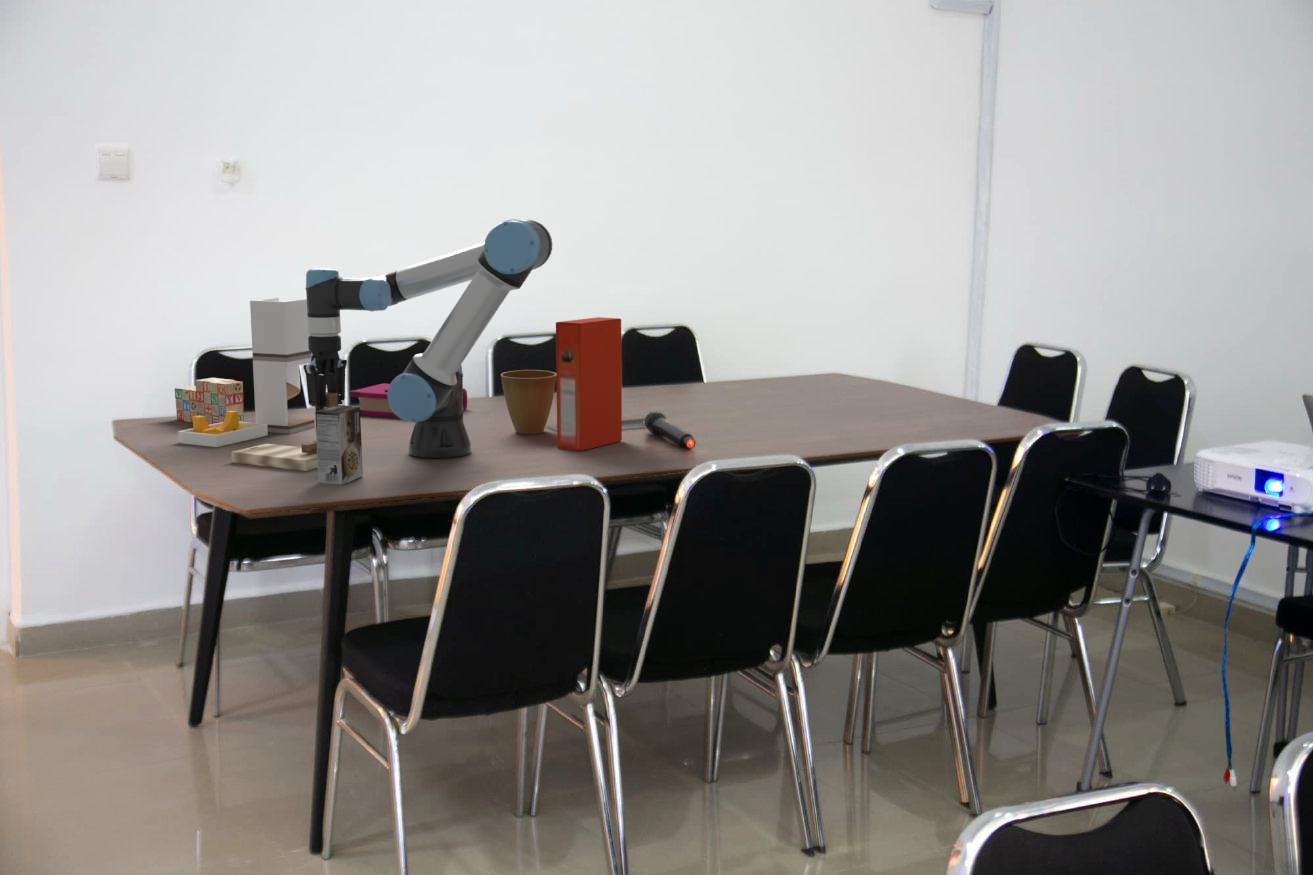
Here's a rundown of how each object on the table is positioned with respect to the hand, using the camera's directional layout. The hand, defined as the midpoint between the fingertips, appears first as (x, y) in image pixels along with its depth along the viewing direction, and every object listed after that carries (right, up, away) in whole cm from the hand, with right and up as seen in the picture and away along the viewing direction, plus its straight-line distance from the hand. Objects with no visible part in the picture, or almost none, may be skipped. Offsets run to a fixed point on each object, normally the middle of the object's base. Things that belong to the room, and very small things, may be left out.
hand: (328, 432), depth 305 cm
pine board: (-9, -7, -2) cm, 12 cm away
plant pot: (+44, 0, +39) cm, 59 cm away
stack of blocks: (-46, +3, +51) cm, 69 cm away
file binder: (+61, -3, +23) cm, 65 cm away
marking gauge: (-1, -6, -2) cm, 7 cm away
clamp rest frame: (-34, -2, +26) cm, 42 cm away
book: (+5, +6, +72) cm, 72 cm away
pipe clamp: (-35, -2, +27) cm, 45 cm away
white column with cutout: (-22, +1, +41) cm, 47 cm away
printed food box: (+8, -11, -21) cm, 25 cm away
